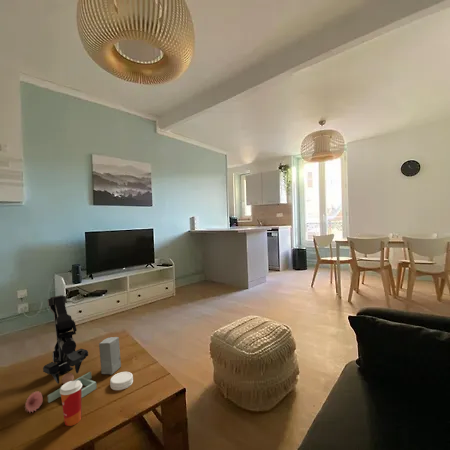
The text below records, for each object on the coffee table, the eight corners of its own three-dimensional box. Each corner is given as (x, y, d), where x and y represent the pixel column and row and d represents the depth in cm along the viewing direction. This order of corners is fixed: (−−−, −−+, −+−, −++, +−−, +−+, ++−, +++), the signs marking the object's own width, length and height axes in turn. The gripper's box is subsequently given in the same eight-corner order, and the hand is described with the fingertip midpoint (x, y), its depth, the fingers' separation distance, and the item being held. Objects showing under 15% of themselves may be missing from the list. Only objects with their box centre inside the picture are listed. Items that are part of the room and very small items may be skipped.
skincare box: (112, 375, 137) (110, 343, 136) (99, 374, 138) (97, 343, 138) (122, 366, 145) (120, 336, 145) (109, 365, 146) (108, 335, 146)
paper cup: (67, 414, 110) (65, 380, 109) (87, 412, 110) (85, 378, 110) (57, 429, 102) (55, 392, 102) (78, 427, 103) (76, 390, 102)
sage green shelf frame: (47, 402, 118) (47, 395, 118) (90, 377, 136) (89, 371, 136) (63, 409, 113) (62, 402, 113) (105, 383, 130) (104, 376, 130)
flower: (41, 386, 120) (32, 386, 115) (52, 398, 117) (43, 398, 112) (27, 405, 117) (16, 405, 112) (37, 417, 114) (27, 418, 109)
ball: (59, 385, 130) (59, 375, 130) (70, 379, 134) (69, 369, 134) (66, 388, 128) (65, 377, 127) (76, 382, 132) (75, 372, 132)
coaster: (137, 380, 131) (137, 373, 131) (121, 393, 122) (121, 385, 122) (122, 376, 136) (121, 369, 136) (105, 388, 127) (105, 380, 127)
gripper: (55, 358, 119) (57, 394, 119) (94, 340, 135) (96, 372, 135) (41, 353, 124) (43, 387, 124) (80, 336, 140) (82, 367, 141)
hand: (67, 378), depth 131 cm, fingers open, 9 cm apart
